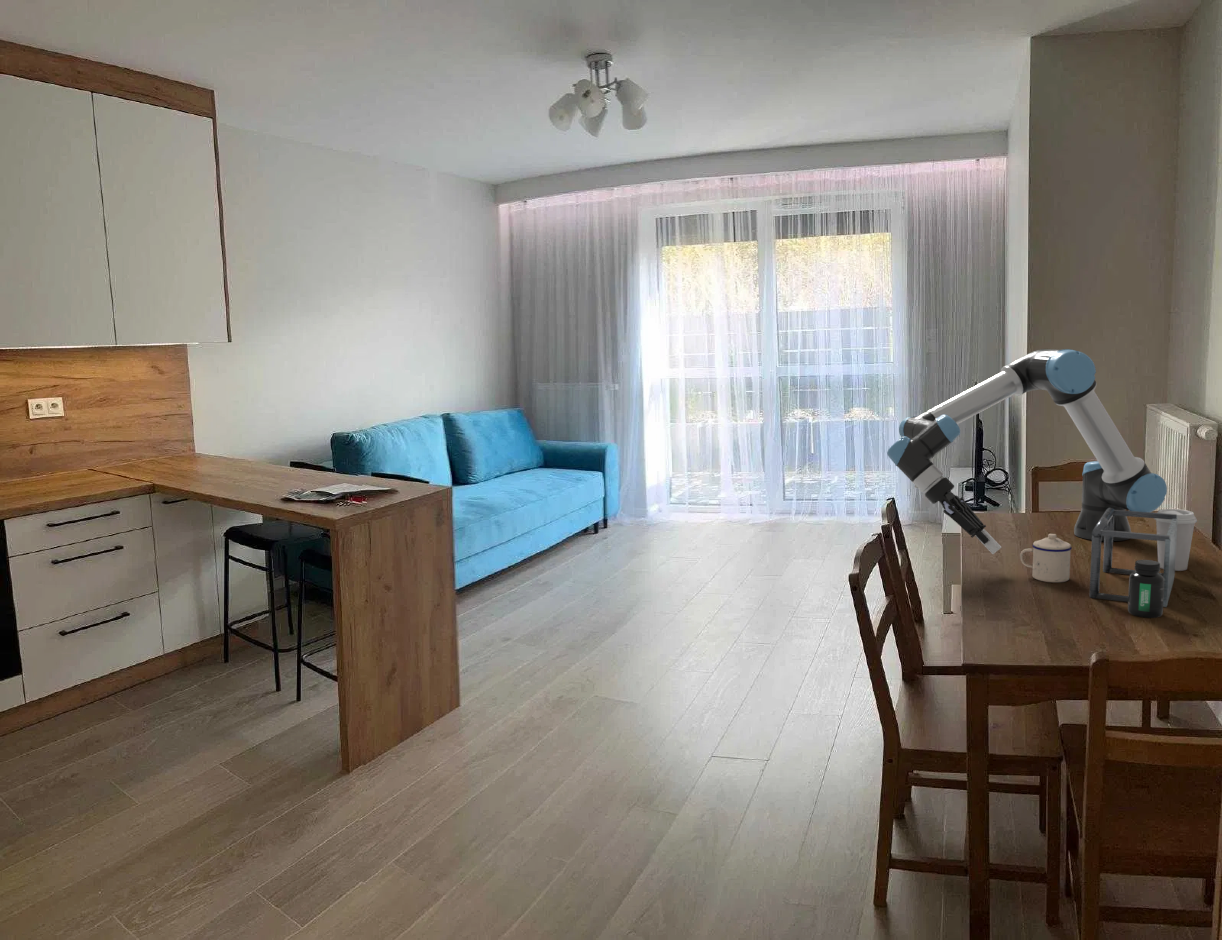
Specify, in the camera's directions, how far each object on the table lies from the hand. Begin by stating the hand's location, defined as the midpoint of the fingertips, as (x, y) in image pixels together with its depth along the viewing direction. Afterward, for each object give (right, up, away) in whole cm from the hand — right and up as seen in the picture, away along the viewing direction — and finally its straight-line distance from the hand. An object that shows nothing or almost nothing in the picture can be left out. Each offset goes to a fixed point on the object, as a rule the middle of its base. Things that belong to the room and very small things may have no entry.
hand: (997, 550), depth 241 cm
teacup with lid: (+10, -7, -6) cm, 13 cm away
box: (+26, -8, -17) cm, 32 cm away
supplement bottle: (+18, -11, -36) cm, 42 cm away
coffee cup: (+46, -4, -2) cm, 46 cm away
